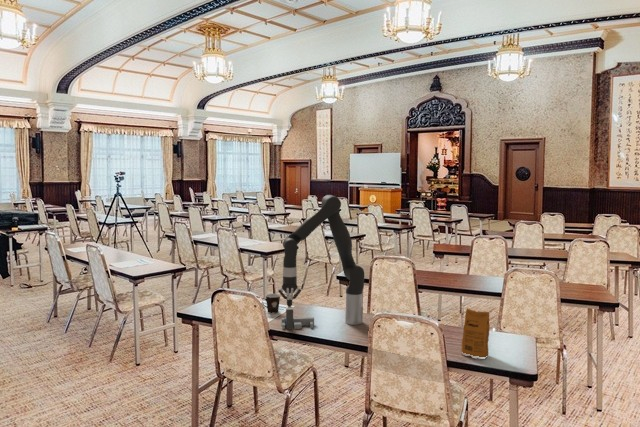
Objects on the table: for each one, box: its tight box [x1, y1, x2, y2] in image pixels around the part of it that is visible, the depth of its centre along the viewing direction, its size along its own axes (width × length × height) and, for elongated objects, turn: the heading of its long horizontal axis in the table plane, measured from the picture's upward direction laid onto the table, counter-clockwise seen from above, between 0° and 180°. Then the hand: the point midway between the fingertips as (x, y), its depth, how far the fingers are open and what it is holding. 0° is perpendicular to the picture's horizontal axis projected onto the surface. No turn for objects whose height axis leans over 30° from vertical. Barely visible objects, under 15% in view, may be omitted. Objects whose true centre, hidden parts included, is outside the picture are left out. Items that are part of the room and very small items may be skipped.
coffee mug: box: [261, 293, 281, 314], centre depth 295 cm, size 12×9×10 cm
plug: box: [285, 305, 294, 330], centre depth 265 cm, size 4×4×12 cm
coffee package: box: [461, 308, 490, 357], centre depth 229 cm, size 10×12×22 cm
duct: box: [280, 316, 315, 330], centre depth 268 cm, size 18×7×4 cm, turn 98°
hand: (289, 306), depth 264 cm, fingers closed
